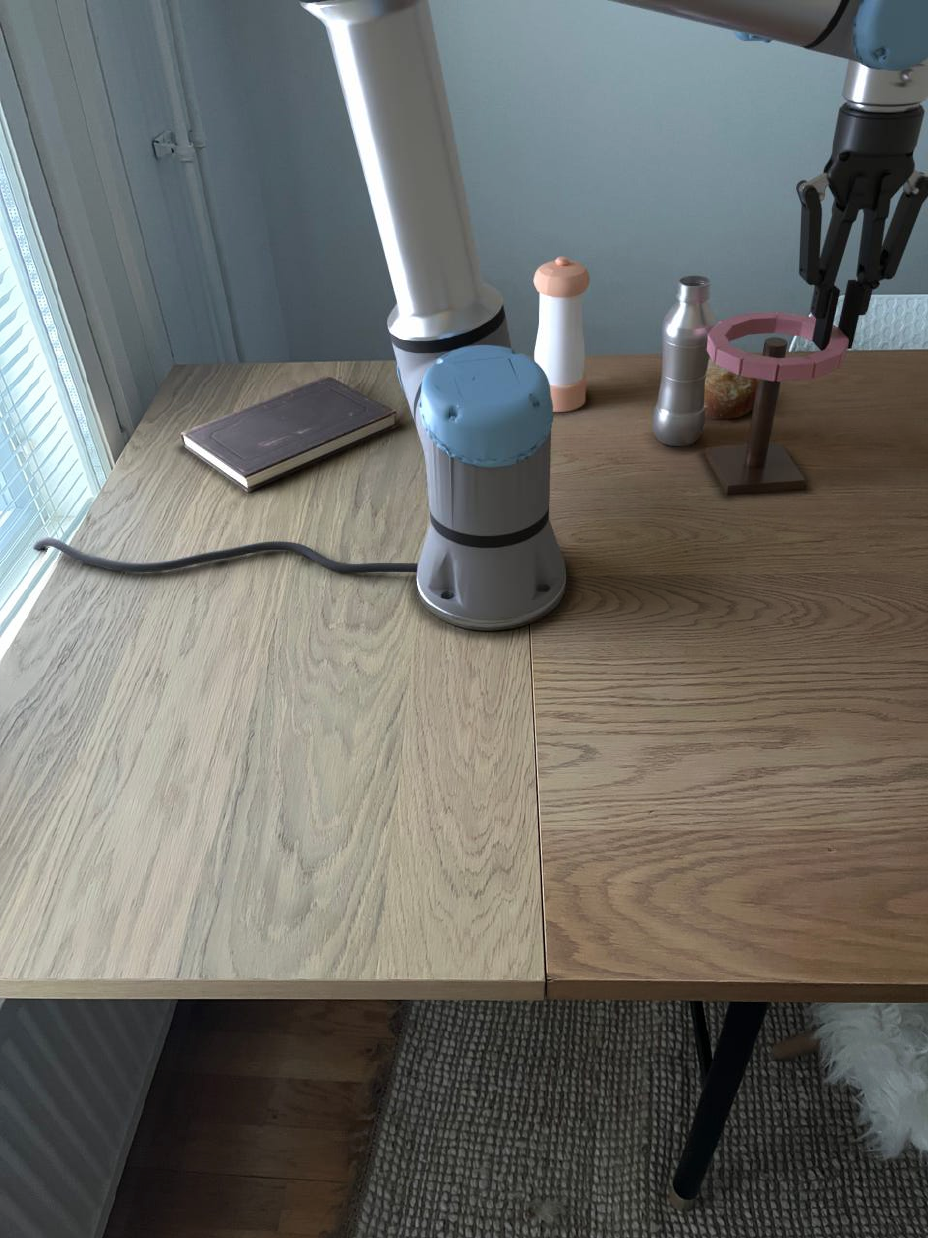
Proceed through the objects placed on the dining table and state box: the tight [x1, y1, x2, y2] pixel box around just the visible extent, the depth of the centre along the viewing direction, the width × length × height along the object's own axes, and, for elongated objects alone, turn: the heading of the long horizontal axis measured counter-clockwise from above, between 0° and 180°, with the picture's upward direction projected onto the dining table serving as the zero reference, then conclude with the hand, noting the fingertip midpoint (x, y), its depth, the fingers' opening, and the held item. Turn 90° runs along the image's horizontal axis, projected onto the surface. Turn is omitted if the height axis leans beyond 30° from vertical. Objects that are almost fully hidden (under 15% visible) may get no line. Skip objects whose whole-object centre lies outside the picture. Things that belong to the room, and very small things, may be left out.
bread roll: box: [704, 357, 758, 420], centre depth 125 cm, size 10×10×8 cm
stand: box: [705, 336, 806, 496], centre depth 108 cm, size 9×9×16 cm
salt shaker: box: [533, 255, 591, 413], centre depth 123 cm, size 7×7×19 cm
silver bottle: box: [651, 274, 718, 447], centre depth 113 cm, size 6×7×20 cm
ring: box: [707, 311, 849, 383], centre depth 103 cm, size 14×14×2 cm
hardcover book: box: [180, 375, 399, 493], centre depth 123 cm, size 16×23×2 cm
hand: (831, 344), depth 103 cm, fingers closed on ring, 2 cm apart
